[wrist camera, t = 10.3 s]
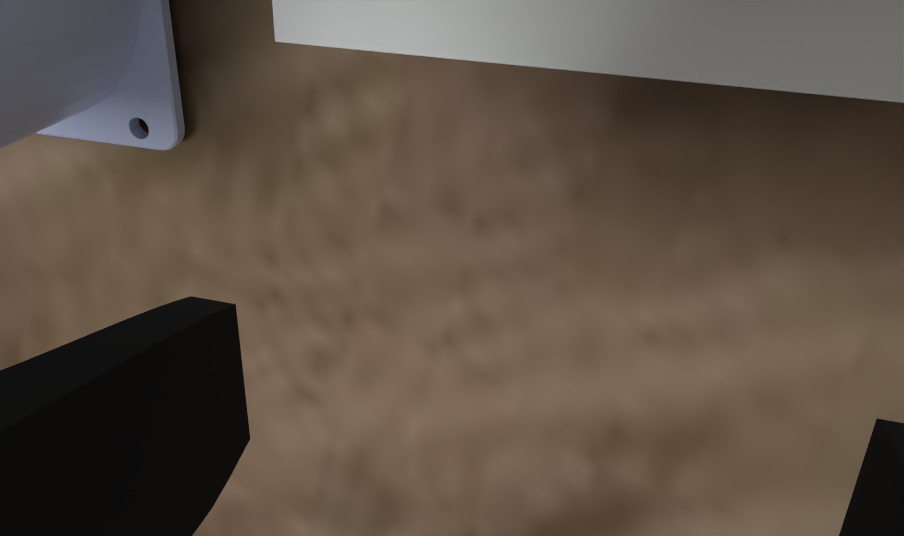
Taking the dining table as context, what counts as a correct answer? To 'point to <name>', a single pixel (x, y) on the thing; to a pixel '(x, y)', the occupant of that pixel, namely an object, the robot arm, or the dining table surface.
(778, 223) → the dining table surface
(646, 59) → the wooden frame
